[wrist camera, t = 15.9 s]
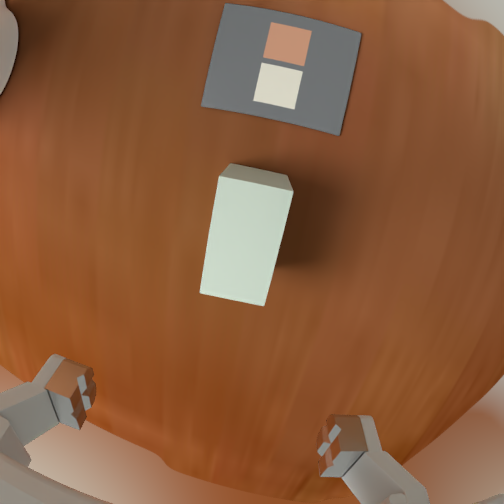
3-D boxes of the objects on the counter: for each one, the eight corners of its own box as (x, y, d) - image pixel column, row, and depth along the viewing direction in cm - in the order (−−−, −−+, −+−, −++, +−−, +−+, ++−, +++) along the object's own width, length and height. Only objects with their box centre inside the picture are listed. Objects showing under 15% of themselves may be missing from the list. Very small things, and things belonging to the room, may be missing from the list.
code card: (201, 106, 25) (200, 106, 25) (225, 3, 21) (225, 3, 21) (338, 135, 26) (339, 136, 26) (360, 33, 22) (361, 33, 22)
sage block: (213, 256, 31) (199, 292, 24) (230, 163, 27) (219, 175, 21) (264, 266, 31) (264, 306, 24) (287, 174, 27) (293, 191, 21)
